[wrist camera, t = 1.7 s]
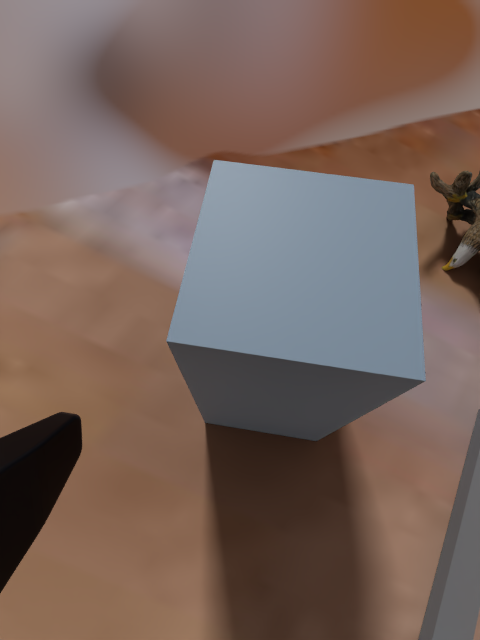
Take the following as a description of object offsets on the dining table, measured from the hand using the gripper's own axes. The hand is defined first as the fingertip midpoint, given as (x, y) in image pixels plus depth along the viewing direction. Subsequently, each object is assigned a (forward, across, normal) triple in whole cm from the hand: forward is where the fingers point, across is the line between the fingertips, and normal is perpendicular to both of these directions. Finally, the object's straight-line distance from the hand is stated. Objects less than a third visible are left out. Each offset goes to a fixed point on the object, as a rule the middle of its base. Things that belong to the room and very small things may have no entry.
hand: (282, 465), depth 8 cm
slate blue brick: (+12, 0, +5) cm, 13 cm away
